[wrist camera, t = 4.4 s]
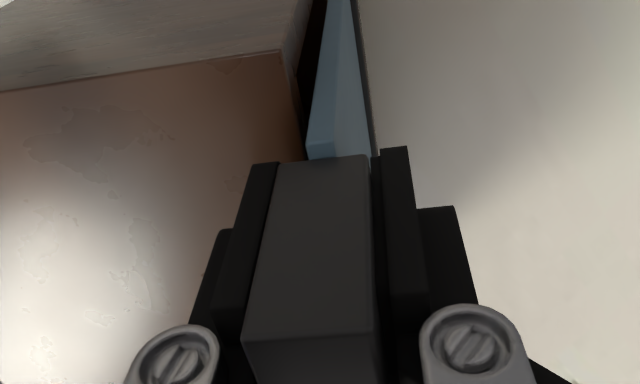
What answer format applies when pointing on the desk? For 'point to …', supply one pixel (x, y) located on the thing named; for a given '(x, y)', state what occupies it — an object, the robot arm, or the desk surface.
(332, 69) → the sliding door
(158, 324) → the cabinet
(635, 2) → the desk surface
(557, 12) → the desk surface
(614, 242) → the desk surface
